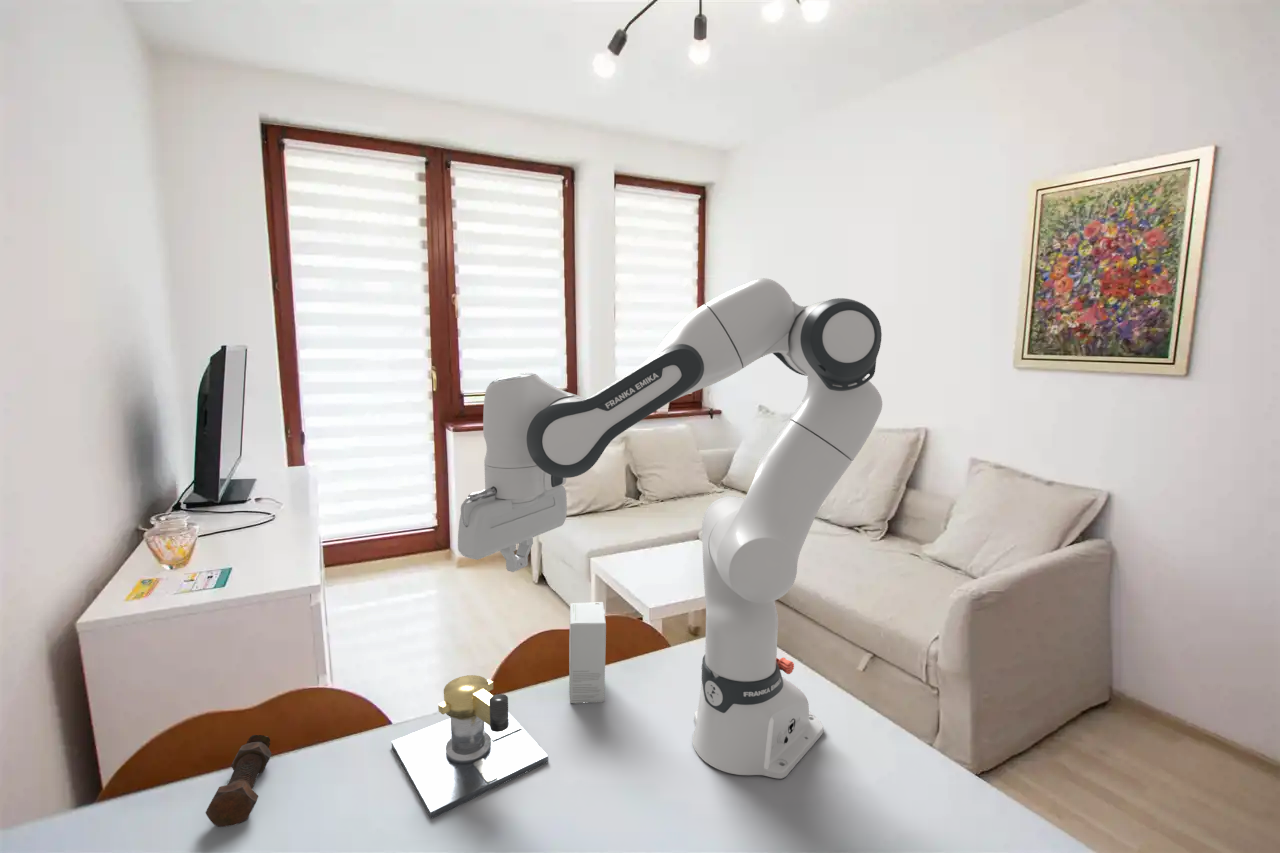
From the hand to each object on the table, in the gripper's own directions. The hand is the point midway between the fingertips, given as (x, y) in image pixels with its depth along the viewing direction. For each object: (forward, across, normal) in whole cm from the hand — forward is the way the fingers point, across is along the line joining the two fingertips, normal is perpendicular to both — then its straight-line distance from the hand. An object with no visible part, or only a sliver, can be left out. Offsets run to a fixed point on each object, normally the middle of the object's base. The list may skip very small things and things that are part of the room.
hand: (517, 568), depth 92 cm
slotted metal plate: (+29, -7, +5) cm, 30 cm away
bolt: (+30, -28, +26) cm, 49 cm away
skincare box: (+29, +17, -1) cm, 34 cm away
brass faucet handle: (+21, -7, +1) cm, 22 cm away
